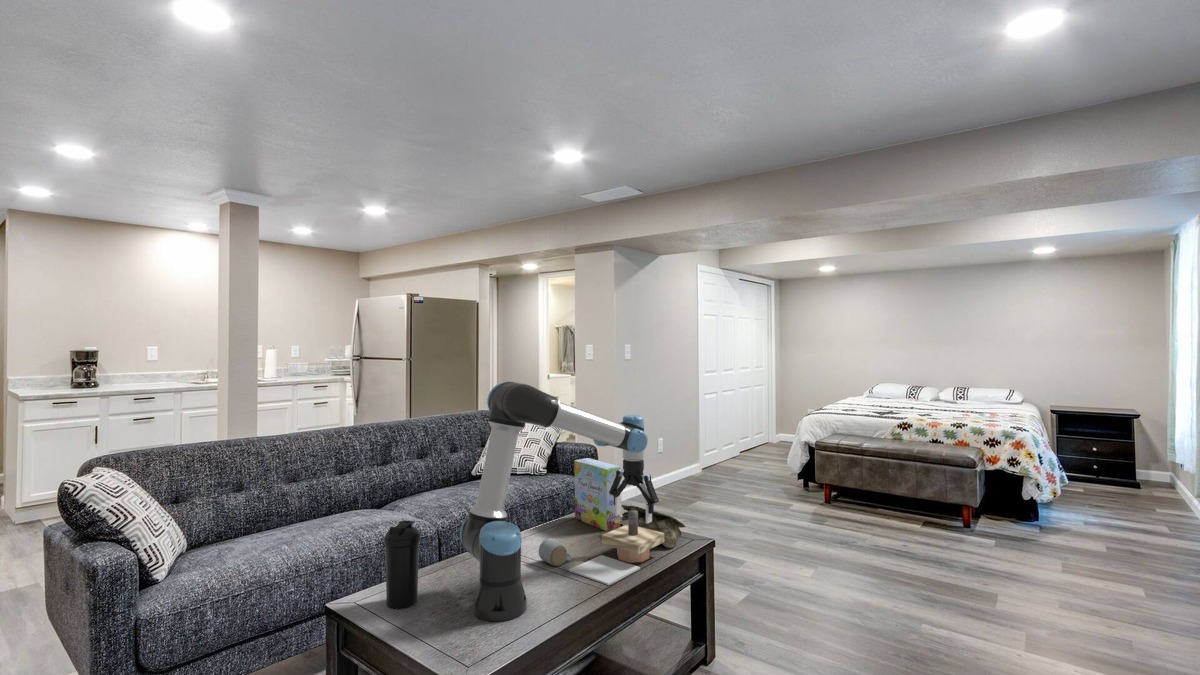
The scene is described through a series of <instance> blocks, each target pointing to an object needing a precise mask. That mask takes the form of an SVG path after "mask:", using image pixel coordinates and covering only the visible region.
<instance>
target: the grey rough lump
mask: <svg viewBox="0 0 1200 675" xmlns="http://www.w3.org/2000/svg"><path fill="white" fill-rule="evenodd" d="M621 508H622V509H623V510H624V512H622V513H621V515H622V517H621V524H622V526H625V525H627V524H628V511H630V510H636V511H638V526H639V527H642V528H646V529H650V530H654V531H658V532H662V533H664V542H663V543H661V544H660V545H663V546H664V547H665V548H667V549H672V548H674V547H675V546H676V543H677V541H678V539H680V538H681V537H682V531H681V529H680V528H683V529H684V528H686V525H685V524H684V523H682V522H680V521H679V520H678V519H676V518H675V517H673V516H671V515H668V514H665V513H660V512H658V511H654V512H653V513H652V522H650V523H648V524H647V523H646V508H642V507H638V506H635V505H626V504H621Z"/></svg>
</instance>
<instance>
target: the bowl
mask: <svg viewBox="0 0 1200 675" xmlns="http://www.w3.org/2000/svg"><path fill="white" fill-rule="evenodd" d="M650 550H651V549H649V550H647V551H645V552H643V553H640V554H638V555H637V554H634V553H631V552H627V551H624V550H620V549H617V548H616V555H617V560H619V561H622V562H625V563H628V564H631V563H644V562H645V561H647V560H649V559H650V557H651V556H650V553H651V552H650Z"/></svg>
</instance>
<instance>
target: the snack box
mask: <svg viewBox="0 0 1200 675" xmlns="http://www.w3.org/2000/svg"><path fill="white" fill-rule="evenodd" d="M617 470H621V466H619V465H615V464H613V463H608V462H605V461H601V460H598V459H593V458H589V457H586V458H581V459H580V458H579V459H576V460H574V519H575V520H578V521H581V522H583V523H585V524H587V525H590V526H592V527H595V528H597V529H600V530H602V531H605V532H610V531H612V530H615V529H617V528H620V527H621V514H620V515H618V516H616V515H615V505H614V496H613V495H612V494H609V491H610V489H611V486H612V484H613V482H614V479H615V477H616V471H617ZM620 485H621V482H620V483H619V486H620ZM619 486H618V487H619ZM617 489H618V488H617ZM619 496H621V494H620V495H619Z"/></svg>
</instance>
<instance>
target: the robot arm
mask: <svg viewBox="0 0 1200 675" xmlns="http://www.w3.org/2000/svg"><path fill="white" fill-rule="evenodd" d="M486 400H487V401H486V403H487V404H486V405H487V408H488V410H489V414H488V420H487V422H488V424H489V425H490V427H491V431H490V434H489V438H488V445H487V450H486V453H485V460H484V464H483V467H482V469H483V470H482V473H481V478H480V484H479V488H478V493H477V498H476V504H475V505H473V506H472V507H471V508H470V509H469V513H468V517H467V518H465V520H464V521H463V522H462V524H461V527H460V531H459V538H460V542H461V544H462V546H463V548H464V549H465V550H466V552H467V553H468V554H469V555H471V556H473V558H475V559H476V560H477V562H478V563H479V583H478V584H479V585H478V587H477V590H476V591H477V592H476V596H475V598H474V600H473V604H472V608H473V609H472V610H473V611H472V613H473V615H474V616H475V617H477V618H478V619H480V620H482V621H483V620H484V621H488V622H504V621H510V620H513V619H516V618H517V617H519V616H522V615H523V614H524V613H525V612H526V610H527V608H528V606H527V605H528V603H527V602H528V600H527V596H526V593H525V589H524V586H523V583H522V579H521V578H522V577H521V576H522V575H521V574H522V570H521V569H522V566H521V564H522V535H521V534H522V533H521V530H520V527H518V526H517V525H516V524H515V523H512V522H510V521H508V522H507V519H508V514H507V512H506V511H505V503H506V499H507V493H508V488H509V483H510V478H511V472H512V468H513V463H514V458H515V453H516V447H517V442H518V438H519V433H520V432H521V431H522V430H524V429H525V427H526V424H530V425H536V426H539V427H544V428H550V427H554V428H558V429H561V430H564V431H566V432H569V433H573V434H576V435H579V436H582V437H586V438H588V439H591V440H593V443H594V444H595V445H596V446H598V447H607V446H608V447H609V446H610V447H613V448H618V449H621V450H622V458H623V460H622V469H621V468H620V470H617V471H616V477H615V479H614V482H613V484H612V486H611V489H610V491H609V494H612V495H613V496H614V505H615V515H616V516H618V515H620V516H621V515H622V506H621V505H622V496H621V495H622V492H623V491H624V490H625V488H626V487H627V486H632V487H636V488H637V489H638V490H639V491H640V493H641V495H642V496H643V498H644V500H645V501H646V504H645V509H646V523H647V524H648V523H650V522H652V513H653V512H655V511H654V510H655V509H654V506H655V504H657V503H659V497H658V495H657V492H656V490H655V487H654V485H653V482H652V481H653V480H652V476H651V474H646V475H645V474H644V468H645V460H644V456H645V452H644V451H645V449H646V448H647V446H648V442H649V441H648V436H647V434H646V432H645V422H644V418H643V416H641V415H634V414H629V415H624V416H623V418H622V422H616V421H614V420H611V419H608V418H605V417H604V416H603V417H602V416H600V415H597V414H596V413H595V414H594V413H592V412H589V411H586V410H583V409H580V408H578V407H574V406H572V405H569V404H567V403H564V402H560V399H559V398H558V397H556V396H554V395H552V394H549V393H547V392H544V391H542V390H540V389H538V388H536V387H534V386H532V385H530V384H526V383H519V382H514V381H503V382H500V383H498V384H496V385H494V387H493V388H491V389H490V391H489V393H488V396H487V399H486ZM622 478H624V479H623V480H622ZM621 481H622V482H621ZM619 483H620V486H619ZM618 486H619V487H618ZM617 488H618V489H617ZM619 495H620V496H619Z"/></svg>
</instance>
